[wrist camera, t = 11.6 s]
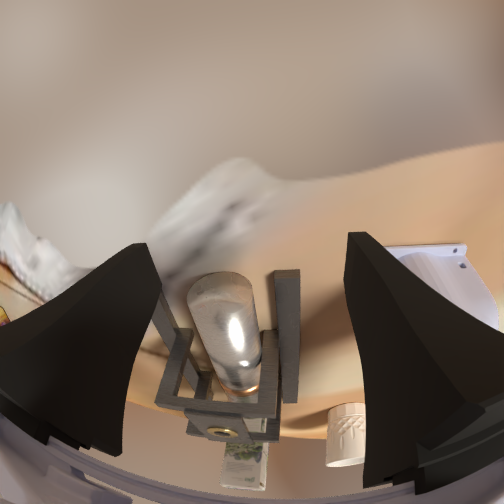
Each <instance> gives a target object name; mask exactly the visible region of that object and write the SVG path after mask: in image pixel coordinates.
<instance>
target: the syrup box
mask: <svg viewBox="0 0 504 504" xmlns="http://www.w3.org/2000/svg"><path fill="white" fill-rule="evenodd" d="M243 419H244V422H245V424H246V426H247V428H248V430H249V432H261V433H266V421H267V418H256V419H245V418H243ZM268 452H269V443H263V442H254V444H242V443H230V442H226V448H225V453H224V460H223V465H222V471H221V478H220V484H221V485H222V486H224V487H225V488H230V489H240V490H255V491H264V490H265V484H266V474H267V463H268Z"/></svg>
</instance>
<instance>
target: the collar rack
mask: <svg viewBox="0 0 504 504" xmlns="http://www.w3.org/2000/svg"><path fill="white" fill-rule="evenodd" d="M274 283H275V295H276V307H277V320H278V330H264V335H263V347H262V358H261V369H260V381H259V391H258V402H257V403H235V402H221V401H210V400H212V399H213V393H212V391H211V390H210V388H211V383H212V378H213V374H212V372H207V371H200V369H199V368H198V366H197V364H196V362H195V360H194V358H193V356H192V354H191V352H190V348H191V344H192V341H193V338H194V333H193V330H192V329H187V328H179V327H178V325H177V323H176V321H175V319H174V317H173V314H172V312H171V310H170V308H169V305H168V303H167V301H166V299H165V296H164V294H163V292H162V289H161V291H160V295H159V298H158V302H157V305H156V308H155V311H154V313H153V316H152V318H151V319H152V321H153V323H154V325H155V327H156V328H157V330H158V332H159V334H160V336H161V337H162V339H163V341H164V343H165V344H166V346H167V348H168V350H169V351H170V355H169V358H168V361H167V364H166V368H165V371H164V374H163V377H162V380H161V383H160V386H159V389H158V393H157V396H156V399H155V402H154V403H155V404H156V405H157V406H158V407H162V408H168V409H173V410H179V411H184V414H185V416H186V417H187V418H188V419H189V422H188V426H187V430H186V433H187V434H188V435H191V436H198V437H205V438H208V439H209V440H212V441H220V442H230V443H242V444H254V442H263V443H279V437H280V419H281V398H282V392H283V403H297V397H298V376H299V349H300V269H299V270H275V271H274ZM279 347H280V361H281V374H278V365H279ZM183 374H184V376H185V378H186V379H187V381H188V382H189V384H190V385H191V387H192V388H193V390H194V391H195V395H194V399H192V398H184V397H177V394H178V391H179V387H180V383H181V380H182V376H183ZM243 417H245V418H267V421H266V433H261V432H249V430H248V428H247V426H246V424H245V422H244V419H243Z"/></svg>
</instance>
